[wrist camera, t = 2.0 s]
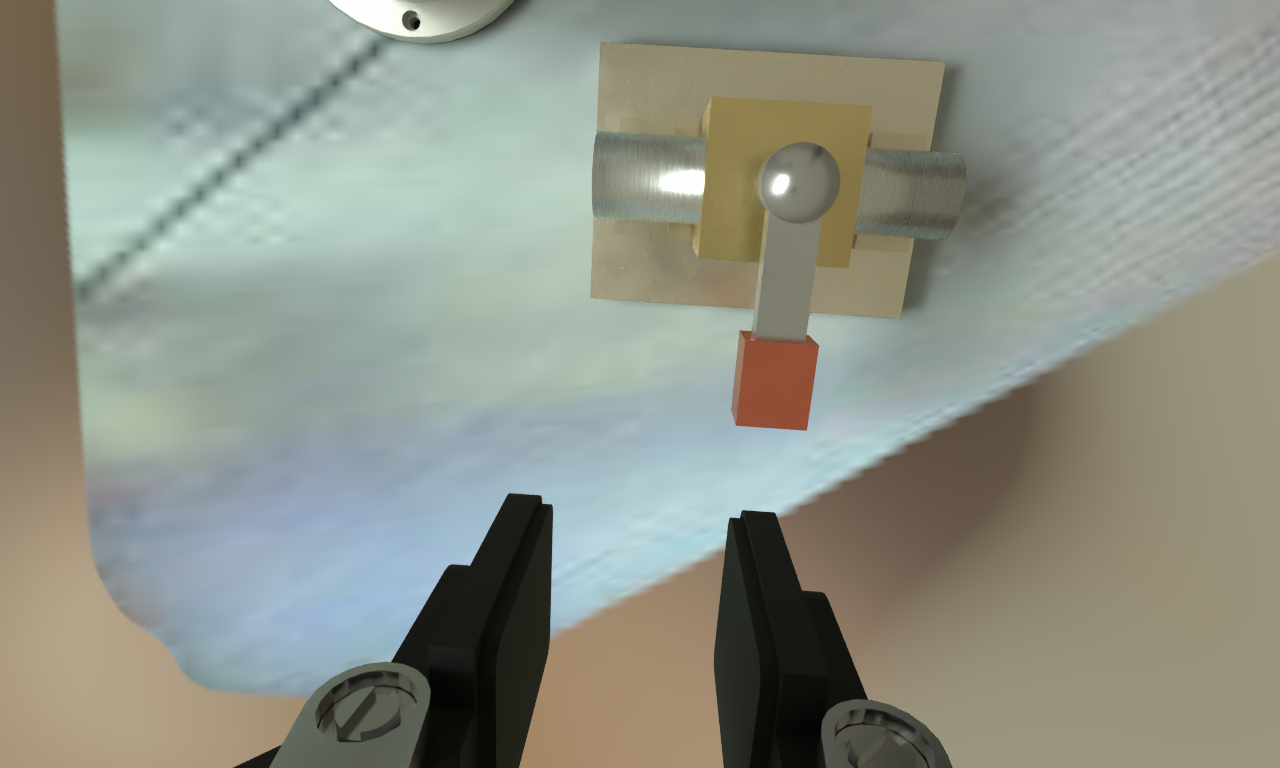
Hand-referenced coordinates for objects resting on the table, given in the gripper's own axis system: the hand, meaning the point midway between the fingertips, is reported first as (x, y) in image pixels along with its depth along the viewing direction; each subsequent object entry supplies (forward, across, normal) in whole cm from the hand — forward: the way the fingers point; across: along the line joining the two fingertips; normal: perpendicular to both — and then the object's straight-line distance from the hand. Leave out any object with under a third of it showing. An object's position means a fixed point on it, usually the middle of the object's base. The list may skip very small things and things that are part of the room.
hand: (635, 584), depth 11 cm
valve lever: (+15, -4, -3) cm, 16 cm away
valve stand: (+25, -4, -7) cm, 27 cm away
